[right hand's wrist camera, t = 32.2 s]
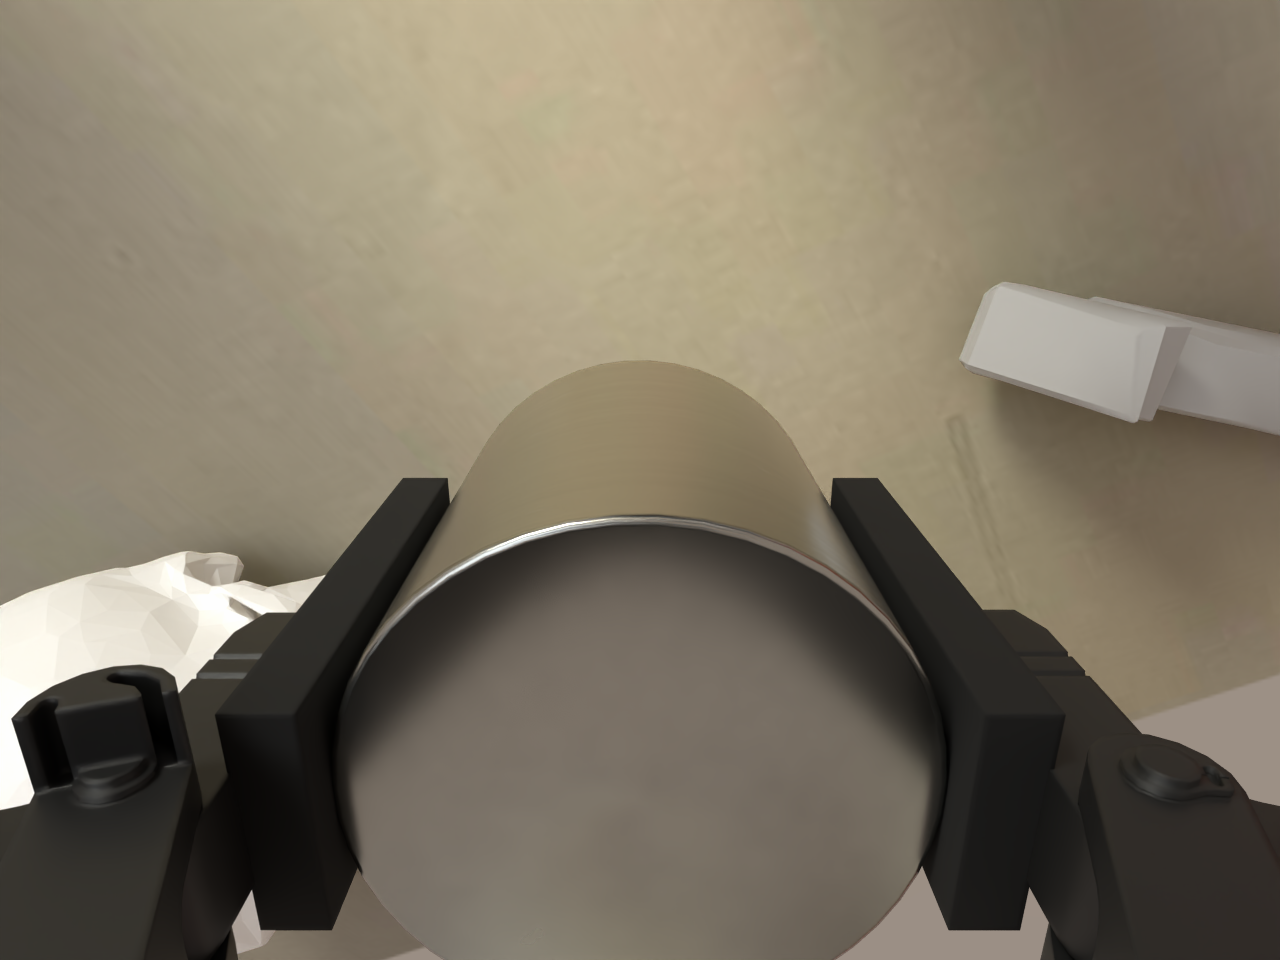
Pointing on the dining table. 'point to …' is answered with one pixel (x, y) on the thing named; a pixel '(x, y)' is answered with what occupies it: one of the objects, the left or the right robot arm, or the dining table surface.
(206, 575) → the skull
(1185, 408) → the clamp
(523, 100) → the dining table surface
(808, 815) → the can
